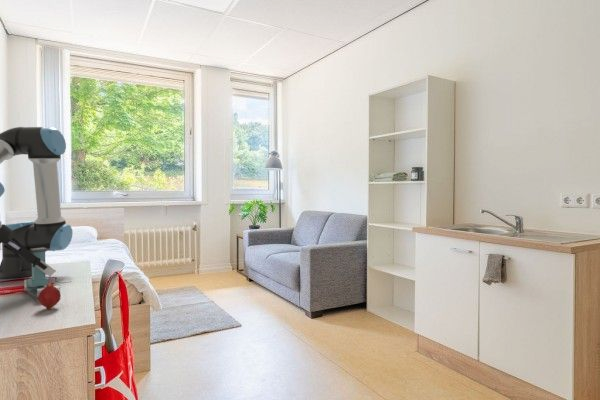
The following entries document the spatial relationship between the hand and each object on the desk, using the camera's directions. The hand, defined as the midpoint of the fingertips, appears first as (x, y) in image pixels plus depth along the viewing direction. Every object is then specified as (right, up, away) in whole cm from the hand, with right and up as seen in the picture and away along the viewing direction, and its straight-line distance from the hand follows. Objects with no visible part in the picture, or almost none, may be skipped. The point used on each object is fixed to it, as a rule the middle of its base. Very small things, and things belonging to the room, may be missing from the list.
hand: (51, 272), depth 137 cm
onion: (+14, -7, -21) cm, 27 cm away
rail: (0, -7, -5) cm, 9 cm away
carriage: (-3, -4, -3) cm, 5 cm away
